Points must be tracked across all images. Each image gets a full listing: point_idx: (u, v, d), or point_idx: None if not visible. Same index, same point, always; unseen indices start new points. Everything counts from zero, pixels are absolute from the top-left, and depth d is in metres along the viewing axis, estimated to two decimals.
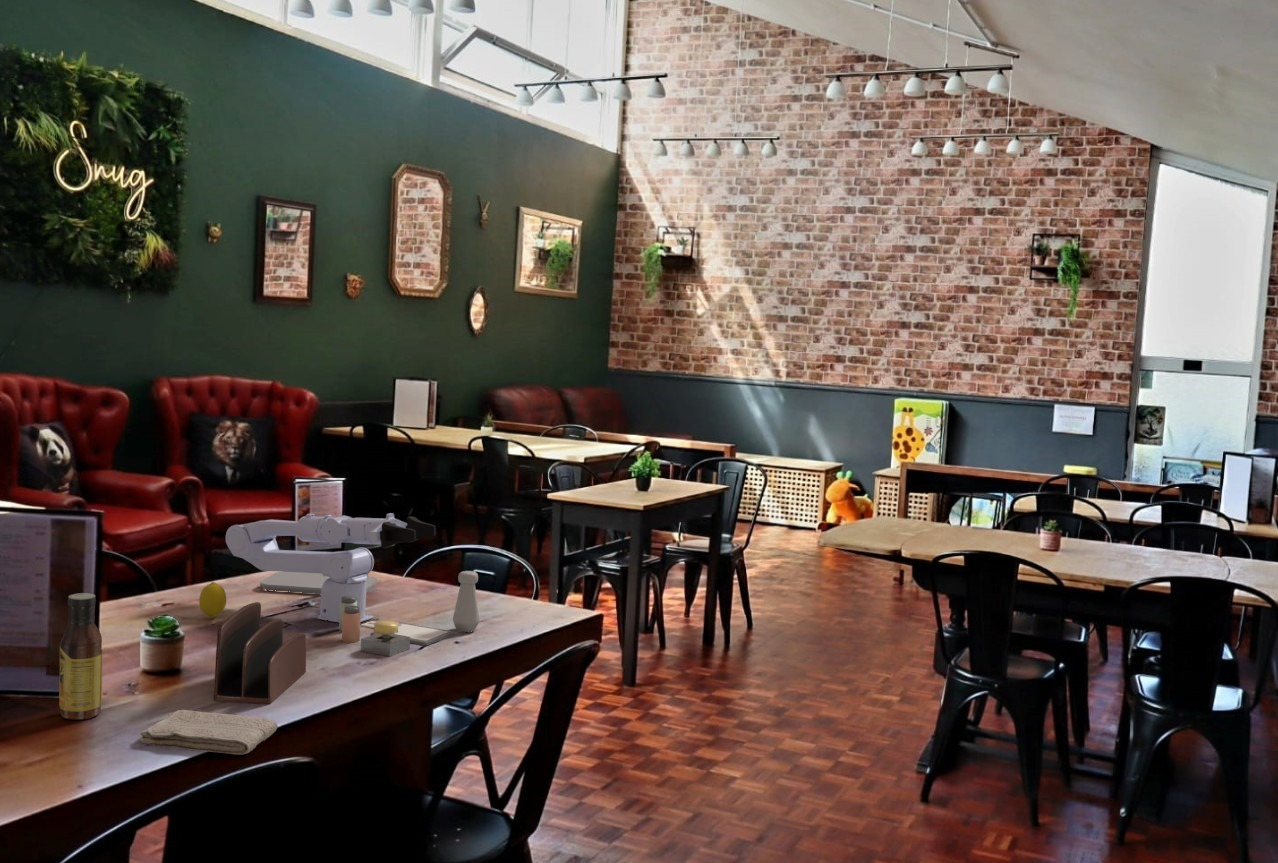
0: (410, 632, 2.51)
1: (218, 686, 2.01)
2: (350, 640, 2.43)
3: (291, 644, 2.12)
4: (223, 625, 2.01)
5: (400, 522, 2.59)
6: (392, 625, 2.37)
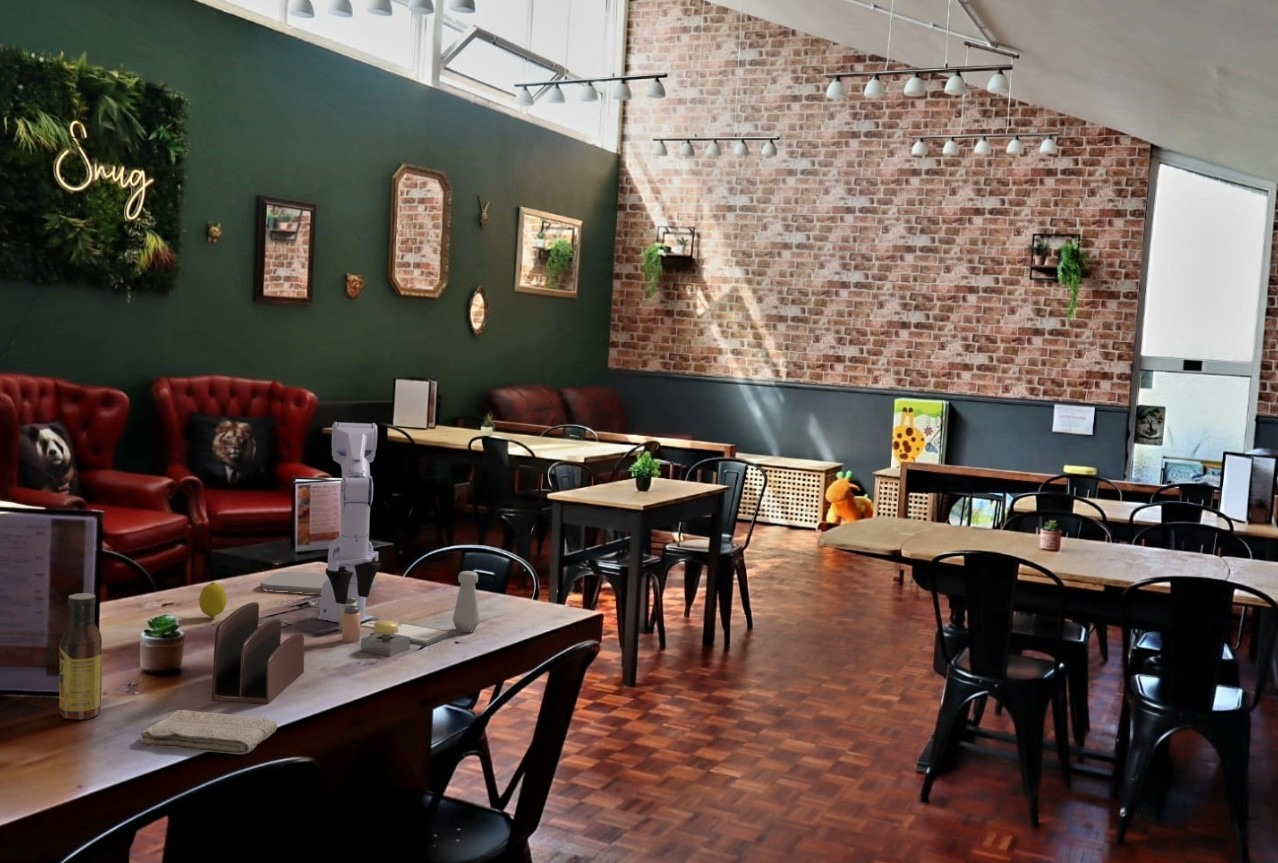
0: (410, 632, 2.51)
1: (216, 686, 2.01)
2: (350, 640, 2.43)
3: (289, 643, 2.12)
4: (221, 625, 2.01)
5: None
6: (392, 625, 2.37)
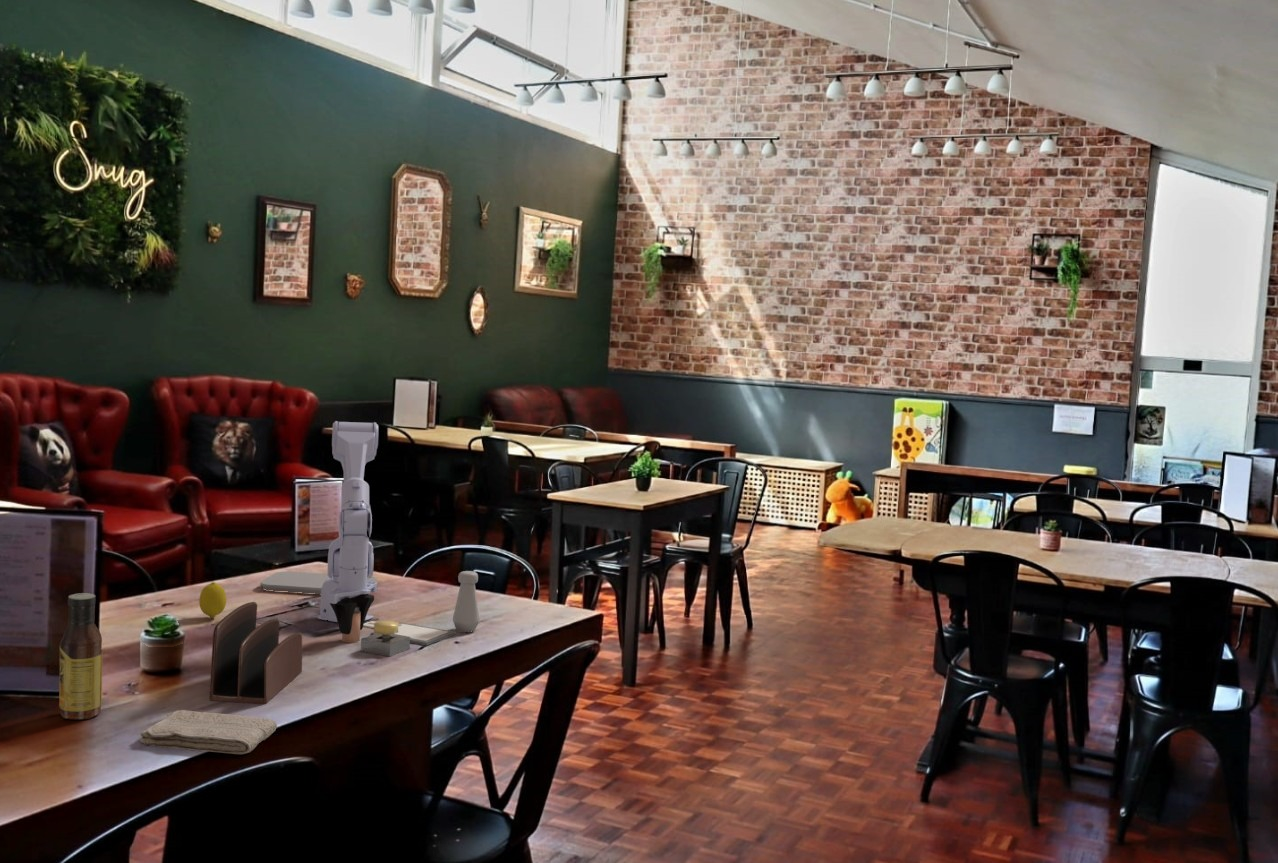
0: (410, 632, 2.51)
1: (214, 686, 2.02)
2: (350, 640, 2.43)
3: (287, 643, 2.12)
4: (219, 625, 2.01)
5: None
6: (392, 625, 2.37)
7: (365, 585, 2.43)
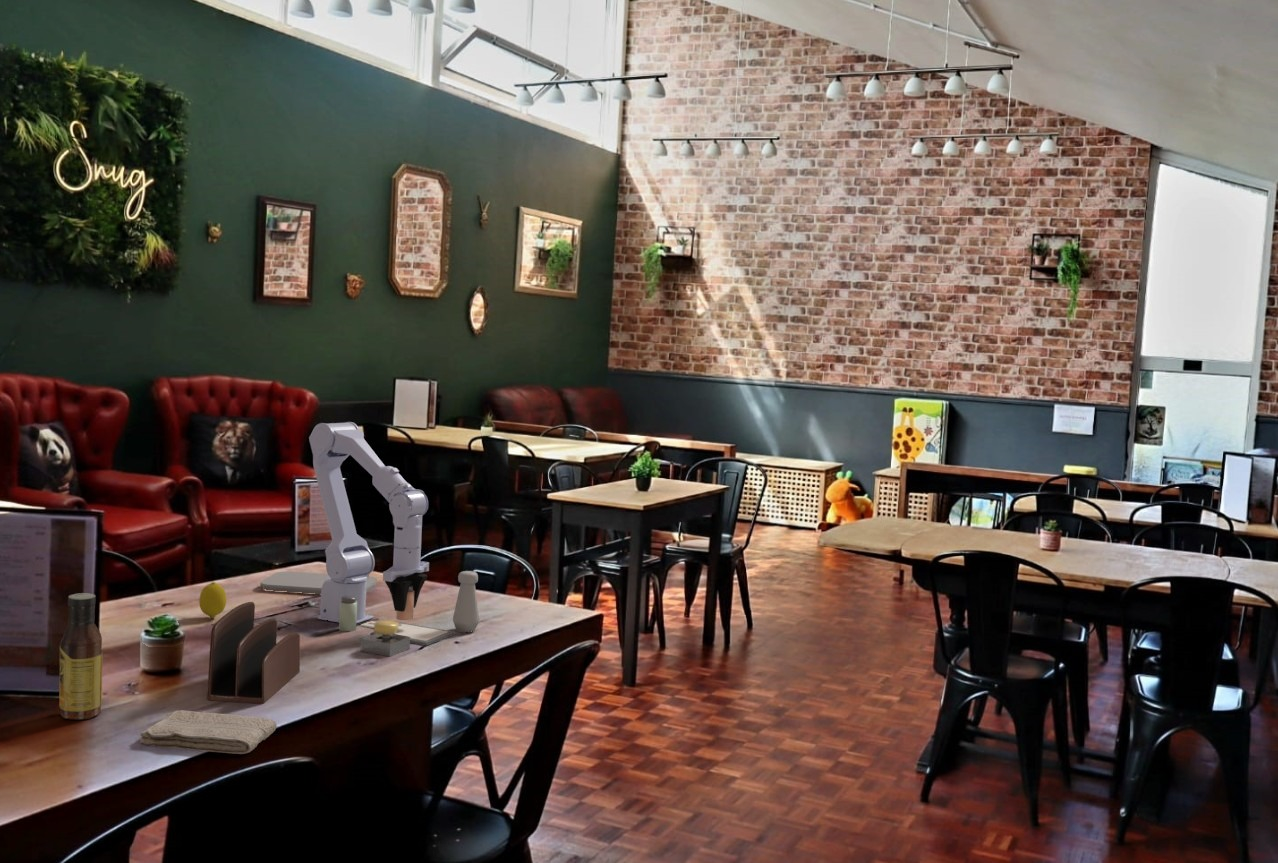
0: (410, 632, 2.51)
1: (211, 686, 2.02)
2: (405, 617, 2.52)
3: (285, 643, 2.12)
4: (217, 625, 2.01)
5: None
6: (392, 625, 2.37)
7: (419, 564, 2.52)
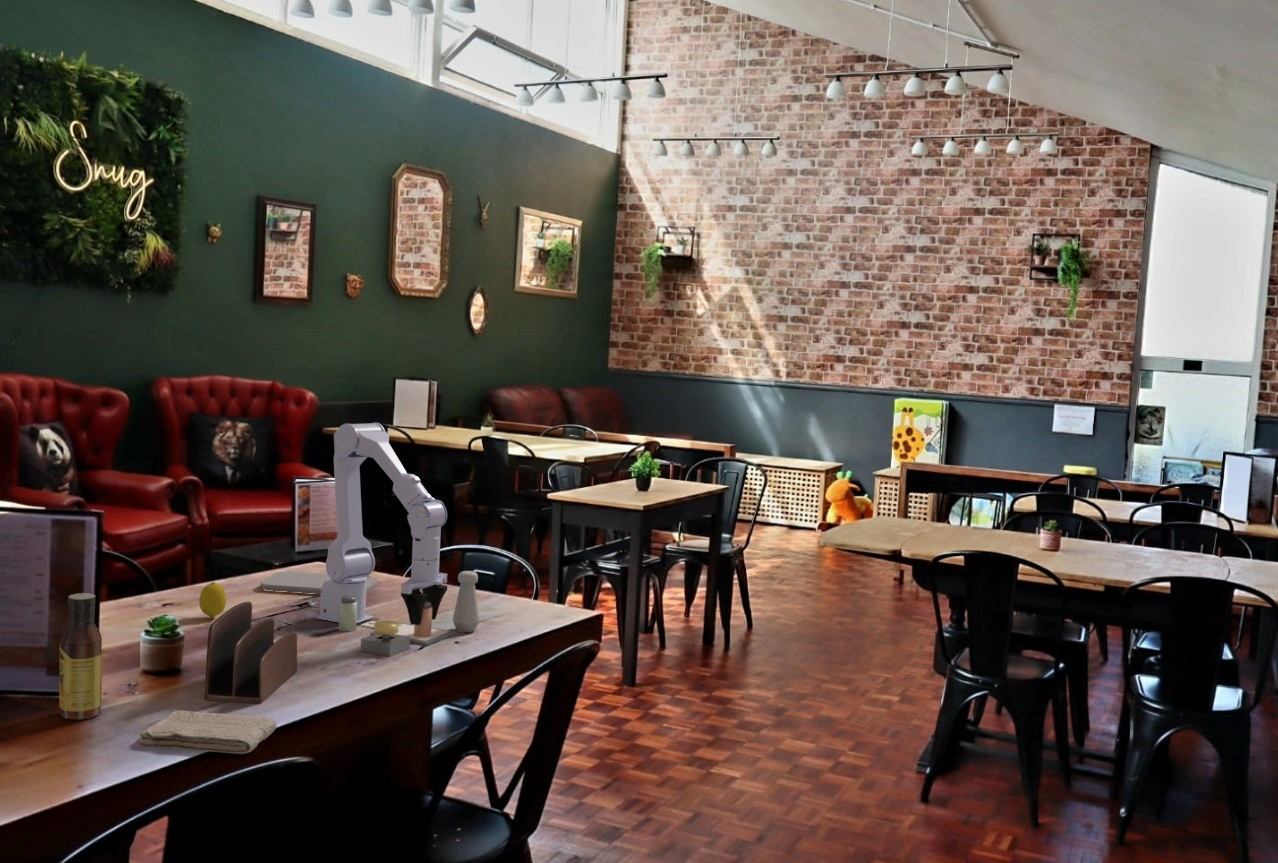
0: (410, 632, 2.51)
1: (209, 686, 2.02)
2: (423, 634, 2.48)
3: (282, 643, 2.12)
4: (214, 624, 2.02)
5: None
6: (392, 625, 2.37)
7: (437, 576, 2.48)
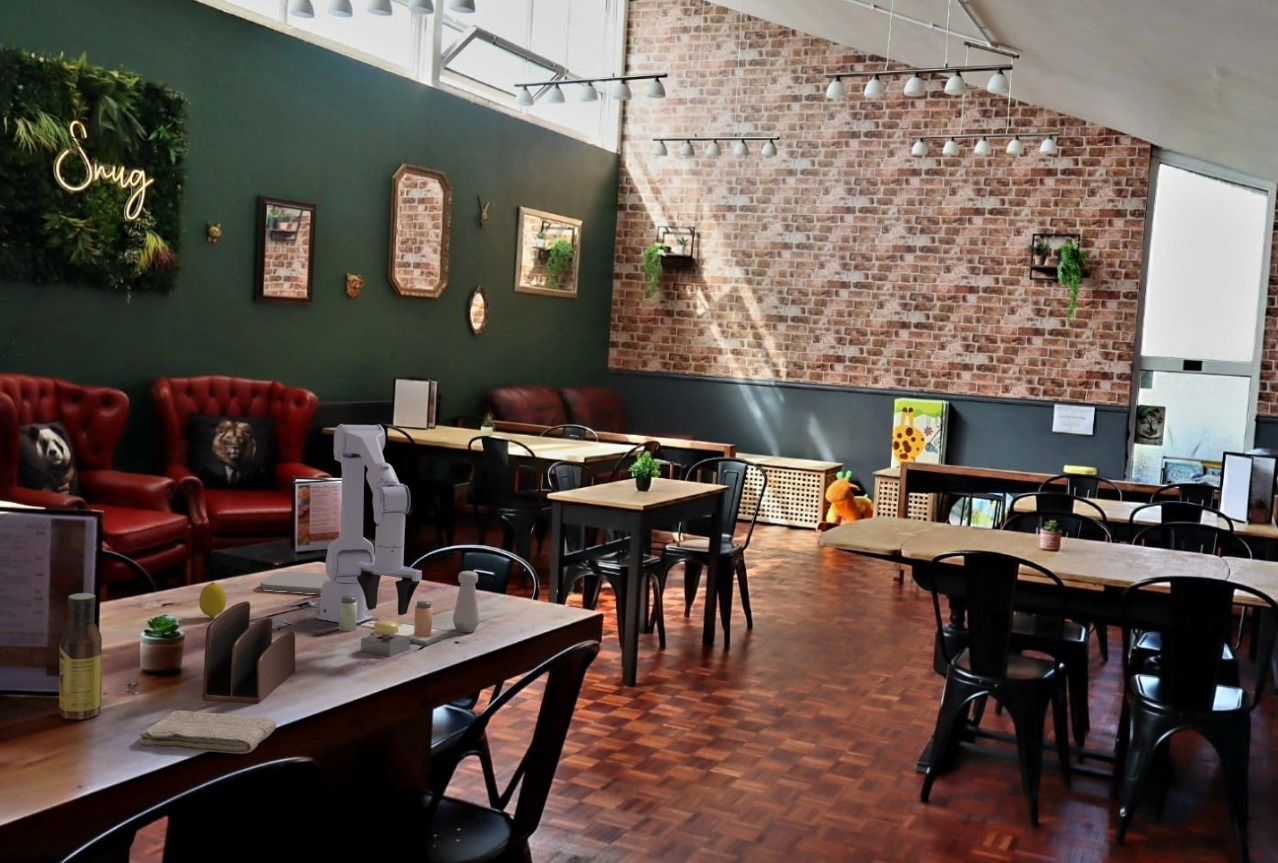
0: (410, 632, 2.51)
1: (207, 686, 2.02)
2: (423, 634, 2.48)
3: (280, 643, 2.12)
4: (212, 624, 2.02)
5: (396, 573, 2.35)
6: (392, 625, 2.37)
7: (383, 565, 2.35)
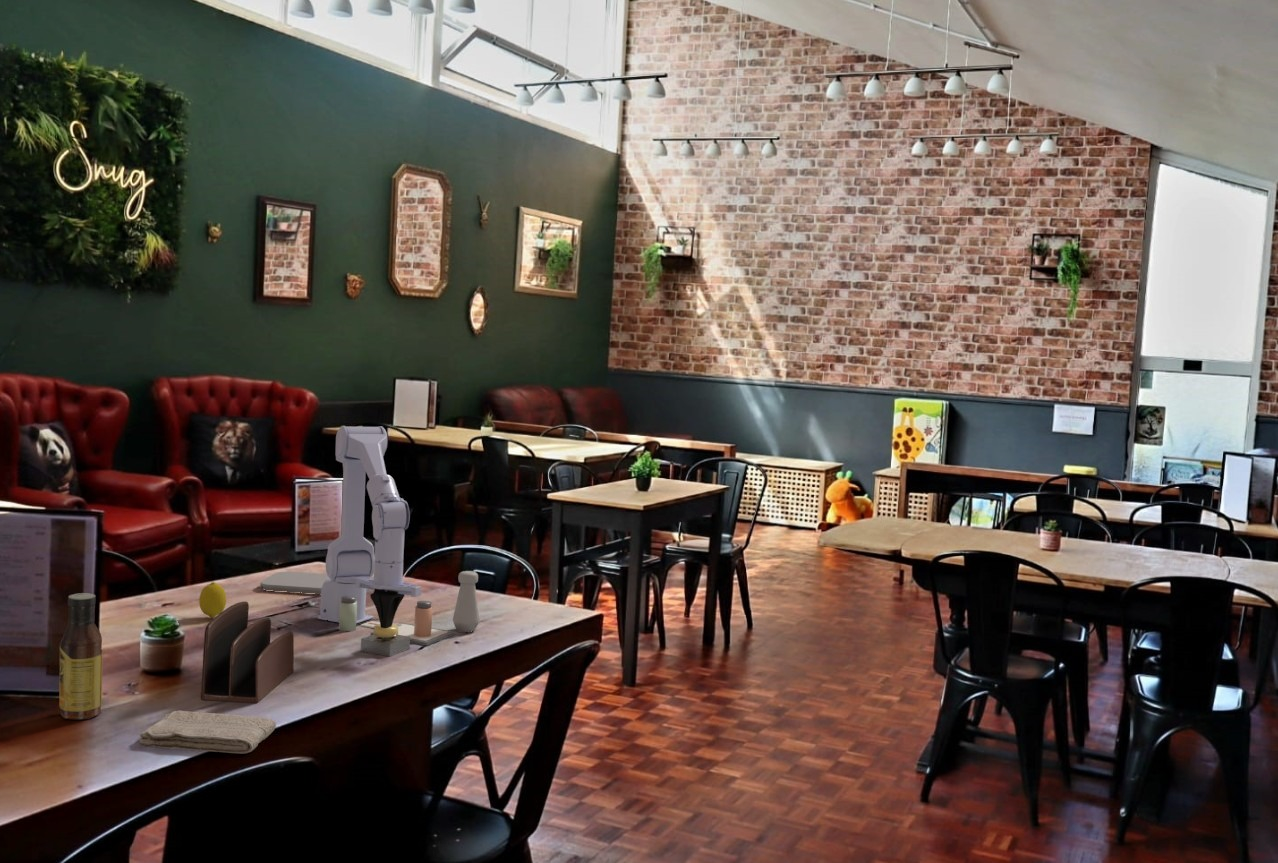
0: (410, 632, 2.51)
1: (205, 685, 2.02)
2: (424, 634, 2.48)
3: (279, 643, 2.12)
4: (210, 624, 2.02)
5: (396, 589, 2.35)
6: (392, 628, 2.38)
7: (382, 581, 2.35)
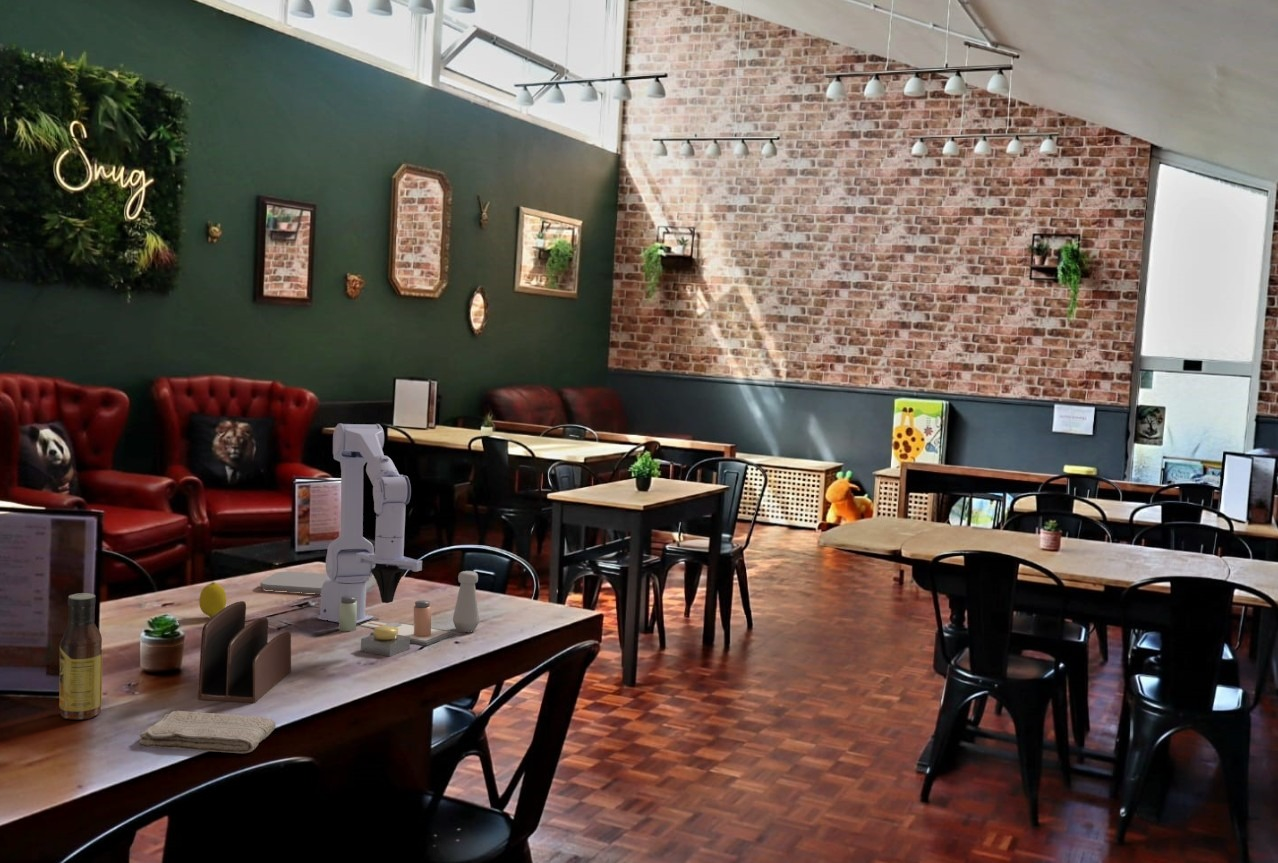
0: (410, 632, 2.51)
1: (202, 685, 2.02)
2: (424, 633, 2.48)
3: (276, 642, 2.12)
4: (208, 624, 2.02)
5: None
6: (392, 630, 2.38)
7: (383, 555, 2.35)
